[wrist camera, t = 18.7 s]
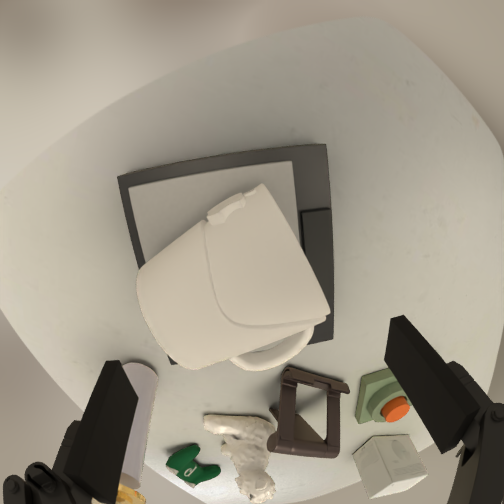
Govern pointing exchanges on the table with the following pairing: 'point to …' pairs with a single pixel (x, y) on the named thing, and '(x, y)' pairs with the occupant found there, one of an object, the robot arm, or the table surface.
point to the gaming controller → (190, 467)
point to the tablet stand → (296, 428)
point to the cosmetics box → (389, 465)
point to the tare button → (395, 409)
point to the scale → (231, 183)
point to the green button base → (377, 395)
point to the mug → (233, 288)
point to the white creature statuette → (246, 452)
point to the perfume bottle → (137, 433)
